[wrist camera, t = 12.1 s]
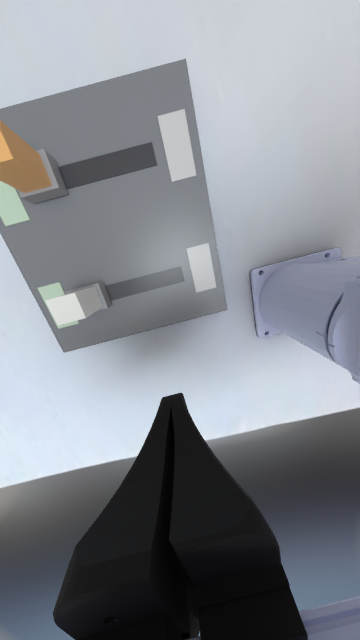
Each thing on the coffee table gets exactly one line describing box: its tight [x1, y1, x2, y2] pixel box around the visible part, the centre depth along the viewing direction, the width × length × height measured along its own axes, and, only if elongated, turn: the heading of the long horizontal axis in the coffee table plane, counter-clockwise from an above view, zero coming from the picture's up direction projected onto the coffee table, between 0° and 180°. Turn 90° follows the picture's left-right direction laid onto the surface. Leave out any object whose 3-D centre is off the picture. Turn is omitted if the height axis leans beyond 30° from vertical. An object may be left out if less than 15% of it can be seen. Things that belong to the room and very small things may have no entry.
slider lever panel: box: [0, 59, 227, 352], centre depth 15 cm, size 17×18×2 cm
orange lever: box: [0, 120, 68, 204], centre depth 11 cm, size 3×2×4 cm
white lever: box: [45, 282, 112, 325], centre depth 14 cm, size 3×2×4 cm
